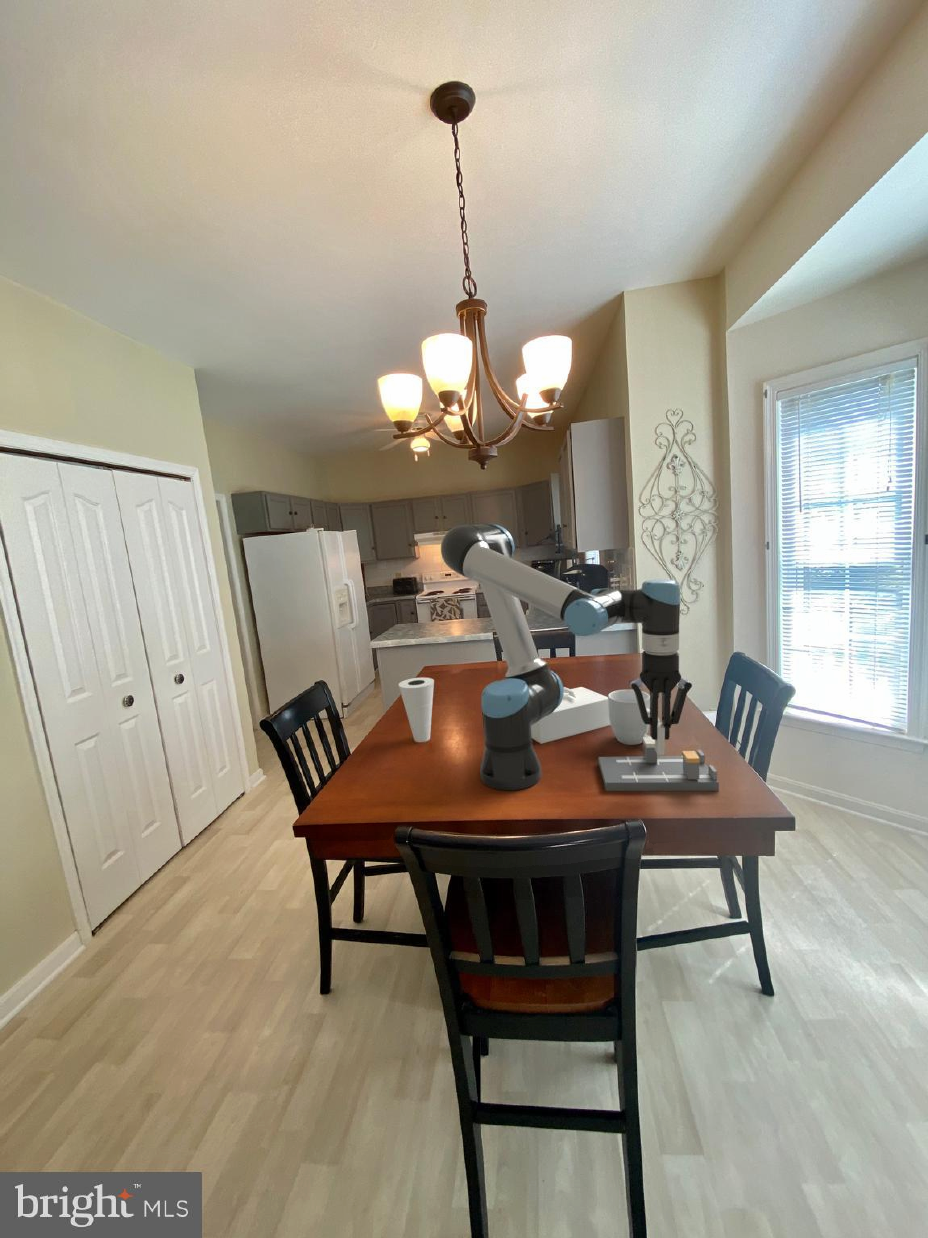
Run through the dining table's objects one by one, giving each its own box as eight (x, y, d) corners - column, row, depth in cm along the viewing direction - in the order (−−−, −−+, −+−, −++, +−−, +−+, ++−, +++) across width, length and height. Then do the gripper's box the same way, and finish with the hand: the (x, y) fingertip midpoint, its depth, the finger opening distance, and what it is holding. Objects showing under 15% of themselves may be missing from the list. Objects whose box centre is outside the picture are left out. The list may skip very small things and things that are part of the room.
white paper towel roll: (399, 745, 144) (392, 688, 141) (413, 731, 154) (407, 677, 151) (432, 747, 141) (426, 688, 138) (444, 732, 151) (438, 677, 148)
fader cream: (646, 763, 115) (646, 743, 115) (643, 756, 119) (642, 737, 118) (657, 763, 115) (657, 743, 114) (654, 756, 119) (653, 737, 118)
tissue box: (611, 725, 146) (610, 691, 144) (540, 744, 137) (538, 708, 135) (582, 711, 159) (581, 680, 158) (516, 728, 150) (514, 694, 148)
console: (605, 790, 109) (605, 774, 108) (598, 764, 122) (598, 749, 121) (718, 790, 105) (718, 773, 105) (699, 763, 118) (699, 748, 117)
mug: (672, 744, 129) (671, 698, 127) (647, 757, 123) (645, 708, 121) (626, 729, 142) (625, 686, 140) (601, 740, 136) (599, 696, 134)
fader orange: (687, 779, 106) (687, 758, 106) (682, 771, 110) (682, 751, 109) (700, 779, 106) (699, 758, 105) (694, 771, 110) (694, 750, 109)
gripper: (632, 656, 102) (632, 759, 106) (697, 654, 100) (695, 760, 104) (626, 647, 109) (626, 745, 113) (686, 646, 107) (685, 745, 111)
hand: (659, 752), depth 109 cm, fingers closed
